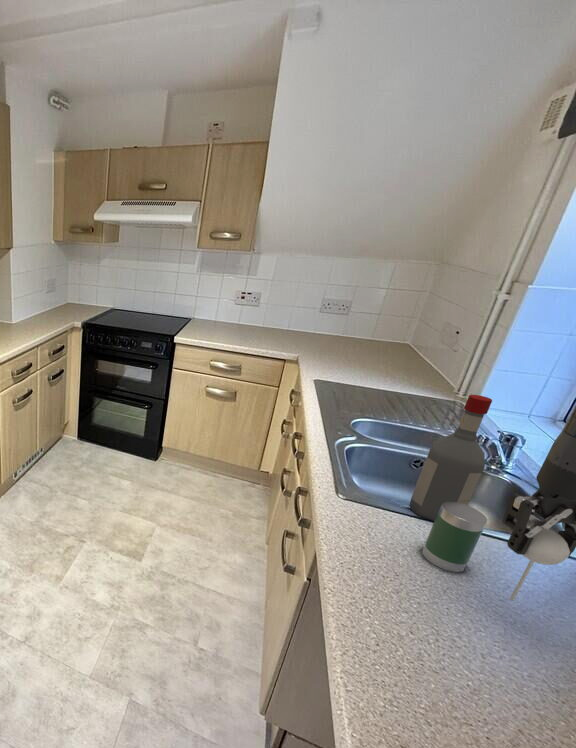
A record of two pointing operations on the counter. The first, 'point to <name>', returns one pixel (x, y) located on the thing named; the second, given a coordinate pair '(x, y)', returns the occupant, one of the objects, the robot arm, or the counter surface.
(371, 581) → the counter surface
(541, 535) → the lollipop
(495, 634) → the counter surface
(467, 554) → the can
